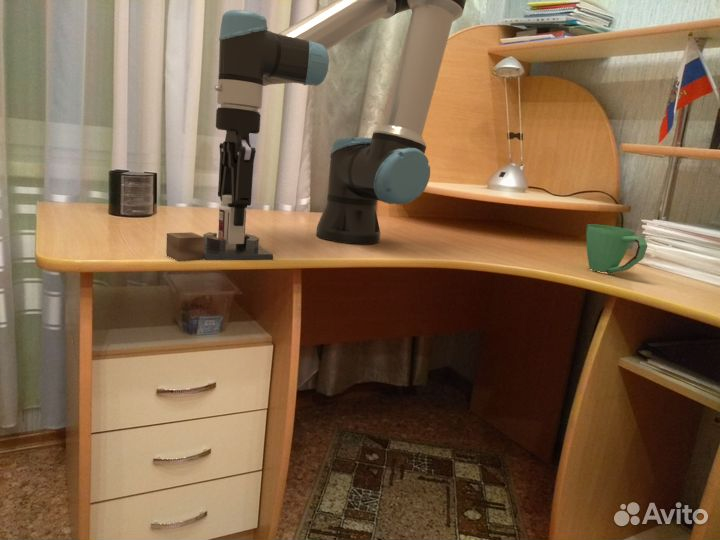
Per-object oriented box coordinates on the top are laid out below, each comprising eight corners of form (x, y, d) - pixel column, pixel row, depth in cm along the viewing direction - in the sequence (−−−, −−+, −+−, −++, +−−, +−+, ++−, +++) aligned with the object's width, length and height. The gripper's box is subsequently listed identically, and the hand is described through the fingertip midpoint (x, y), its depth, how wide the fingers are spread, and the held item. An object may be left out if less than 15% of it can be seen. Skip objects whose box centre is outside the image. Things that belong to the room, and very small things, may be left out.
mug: (568, 266, 125) (577, 223, 123) (600, 266, 129) (609, 225, 127) (620, 282, 112) (631, 235, 110) (653, 283, 116) (664, 237, 114)
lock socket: (251, 246, 108) (252, 229, 107) (272, 259, 98) (274, 241, 97) (189, 245, 102) (190, 228, 101) (205, 260, 92) (206, 240, 91)
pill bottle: (248, 241, 101) (251, 196, 100) (237, 245, 97) (240, 198, 95) (224, 238, 102) (227, 193, 100) (213, 241, 98) (215, 195, 96)
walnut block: (191, 254, 95) (191, 232, 94) (203, 260, 92) (204, 237, 91) (166, 256, 92) (166, 233, 91) (178, 262, 89) (179, 238, 88)
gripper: (204, 106, 100) (198, 231, 105) (232, 104, 85) (224, 250, 90) (244, 111, 104) (237, 231, 109) (277, 111, 89) (267, 250, 94)
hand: (231, 240), depth 99 cm, fingers closed on pill bottle, 5 cm apart
